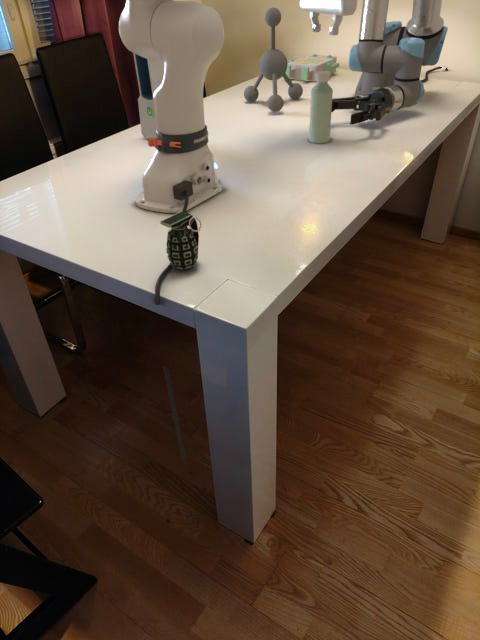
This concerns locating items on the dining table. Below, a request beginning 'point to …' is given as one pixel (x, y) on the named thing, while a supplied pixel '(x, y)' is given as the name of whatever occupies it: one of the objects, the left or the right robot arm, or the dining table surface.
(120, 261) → the dining table surface
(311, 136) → the bottle
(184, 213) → the grenade
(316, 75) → the cap
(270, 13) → the molecular model
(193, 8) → the left robot arm
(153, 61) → the electronic device
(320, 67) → the decorative block
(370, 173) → the dining table surface
